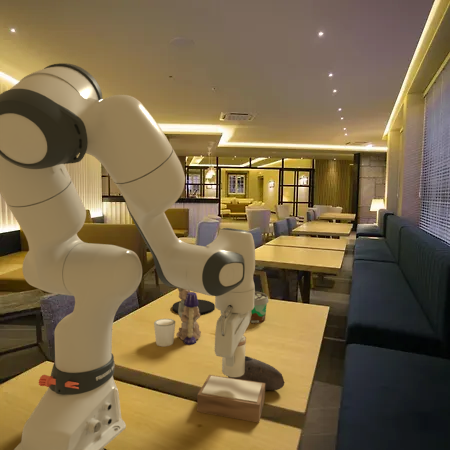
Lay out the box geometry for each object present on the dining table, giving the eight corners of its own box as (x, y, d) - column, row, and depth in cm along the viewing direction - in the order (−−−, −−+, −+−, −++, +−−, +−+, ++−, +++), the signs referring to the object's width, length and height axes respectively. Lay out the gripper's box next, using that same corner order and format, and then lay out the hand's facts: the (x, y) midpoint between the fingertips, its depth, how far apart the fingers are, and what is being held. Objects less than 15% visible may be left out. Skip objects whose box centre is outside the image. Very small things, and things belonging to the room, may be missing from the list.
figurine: (171, 334, 120) (172, 277, 118) (193, 329, 125) (193, 274, 123) (184, 344, 113) (184, 283, 111) (206, 338, 118) (207, 280, 116)
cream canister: (242, 379, 77) (243, 344, 76) (218, 375, 79) (219, 341, 78) (247, 367, 82) (248, 334, 82) (225, 363, 84) (225, 331, 83)
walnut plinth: (259, 422, 75) (259, 404, 75) (197, 411, 79) (197, 393, 78) (264, 399, 84) (265, 382, 84) (209, 390, 87) (209, 373, 87)
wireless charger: (197, 301, 160) (197, 296, 160) (223, 311, 147) (223, 306, 147) (164, 309, 148) (164, 304, 148) (189, 320, 135) (189, 315, 135)
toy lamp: (198, 339, 117) (198, 291, 116) (197, 345, 113) (198, 295, 111) (183, 339, 117) (184, 291, 116) (183, 345, 113) (183, 295, 111)
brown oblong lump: (286, 388, 89) (287, 362, 88) (280, 399, 84) (281, 371, 83) (233, 374, 95) (233, 349, 95) (224, 383, 91) (225, 357, 90)
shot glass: (171, 348, 110) (171, 326, 110) (150, 346, 112) (150, 324, 111) (178, 339, 117) (178, 319, 116) (158, 337, 118) (158, 317, 118)
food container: (267, 327, 129) (268, 300, 128) (250, 326, 130) (251, 299, 129) (268, 316, 141) (269, 291, 140) (253, 314, 142) (254, 290, 141)
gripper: (238, 316, 68) (237, 384, 69) (256, 288, 88) (255, 341, 89) (207, 313, 70) (206, 379, 71) (231, 286, 89) (231, 338, 91)
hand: (233, 358), depth 80 cm, fingers closed on cream canister, 5 cm apart
